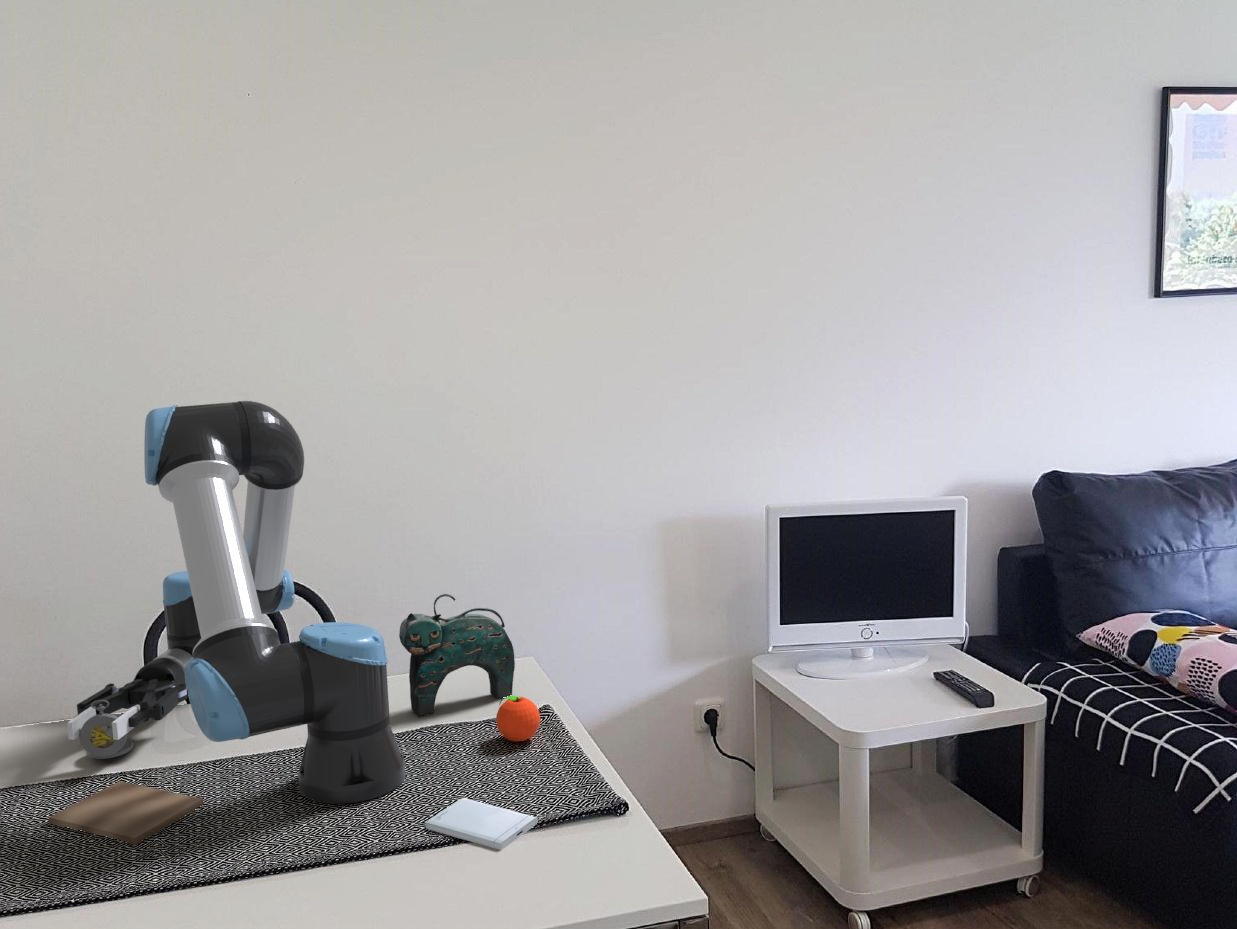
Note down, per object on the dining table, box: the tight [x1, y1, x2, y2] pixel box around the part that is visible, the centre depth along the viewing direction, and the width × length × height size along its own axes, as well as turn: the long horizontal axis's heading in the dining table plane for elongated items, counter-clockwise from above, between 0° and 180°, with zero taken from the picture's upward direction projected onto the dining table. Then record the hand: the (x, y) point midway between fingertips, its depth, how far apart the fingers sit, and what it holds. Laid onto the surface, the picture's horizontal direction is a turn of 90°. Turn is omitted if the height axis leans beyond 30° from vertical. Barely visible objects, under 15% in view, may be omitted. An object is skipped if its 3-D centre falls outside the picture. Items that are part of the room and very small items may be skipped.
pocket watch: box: [79, 700, 134, 760], centre depth 172 cm, size 8×8×10 cm
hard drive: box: [425, 797, 539, 851], centre depth 148 cm, size 2×8×12 cm
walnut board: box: [47, 780, 204, 846], centre depth 154 cm, size 16×12×1 cm
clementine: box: [495, 695, 541, 743], centre depth 176 cm, size 8×7×7 cm
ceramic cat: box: [398, 593, 516, 718], centre depth 191 cm, size 20×6×20 cm, turn 119°
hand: (92, 731), depth 167 cm, fingers closed on pocket watch, 6 cm apart
